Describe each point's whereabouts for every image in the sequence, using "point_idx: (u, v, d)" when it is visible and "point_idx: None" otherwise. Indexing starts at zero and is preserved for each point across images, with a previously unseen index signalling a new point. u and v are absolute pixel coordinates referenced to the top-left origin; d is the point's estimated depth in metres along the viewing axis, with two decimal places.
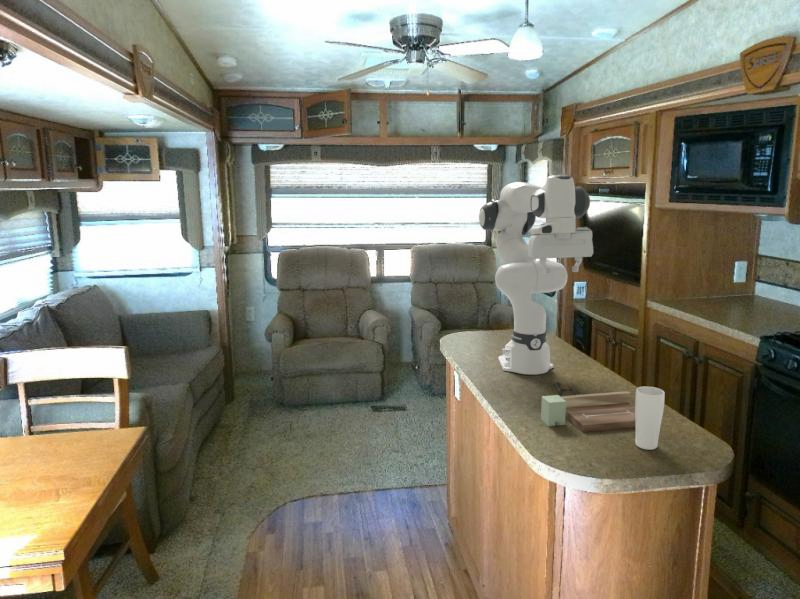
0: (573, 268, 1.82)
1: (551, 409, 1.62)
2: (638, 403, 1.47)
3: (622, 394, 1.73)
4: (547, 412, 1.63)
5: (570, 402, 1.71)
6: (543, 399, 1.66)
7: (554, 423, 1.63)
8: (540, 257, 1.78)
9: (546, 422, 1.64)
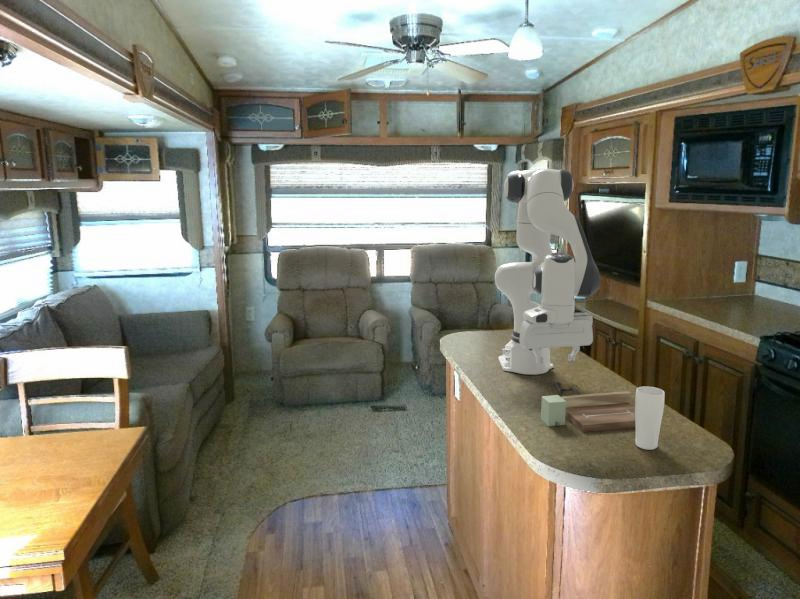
0: (569, 357, 1.62)
1: (551, 409, 1.62)
2: (638, 403, 1.47)
3: (622, 394, 1.73)
4: (547, 412, 1.63)
5: (570, 402, 1.71)
6: (543, 399, 1.65)
7: (554, 423, 1.63)
8: (533, 347, 1.58)
9: (546, 422, 1.64)
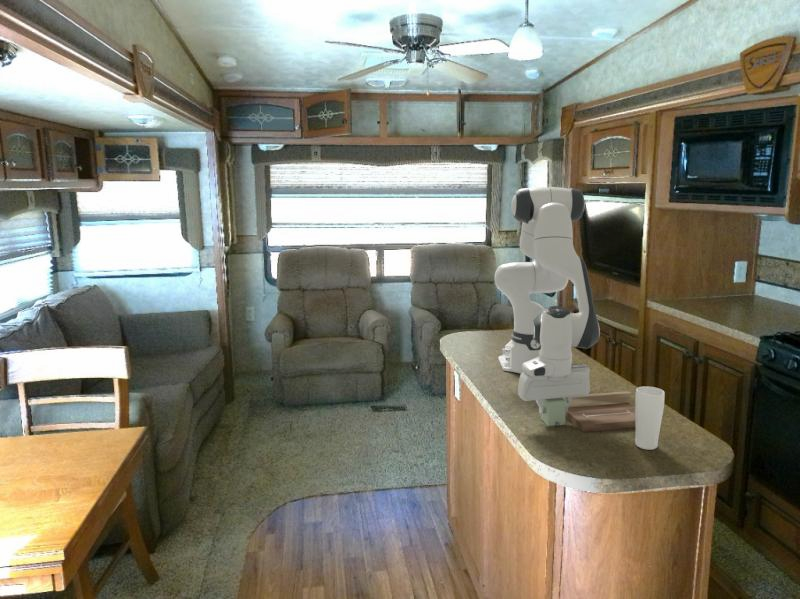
0: None
1: (551, 408, 1.62)
2: (638, 403, 1.47)
3: (622, 394, 1.73)
4: (547, 412, 1.63)
5: None
6: (543, 399, 1.65)
7: (554, 423, 1.63)
8: (531, 399, 1.62)
9: (546, 422, 1.64)
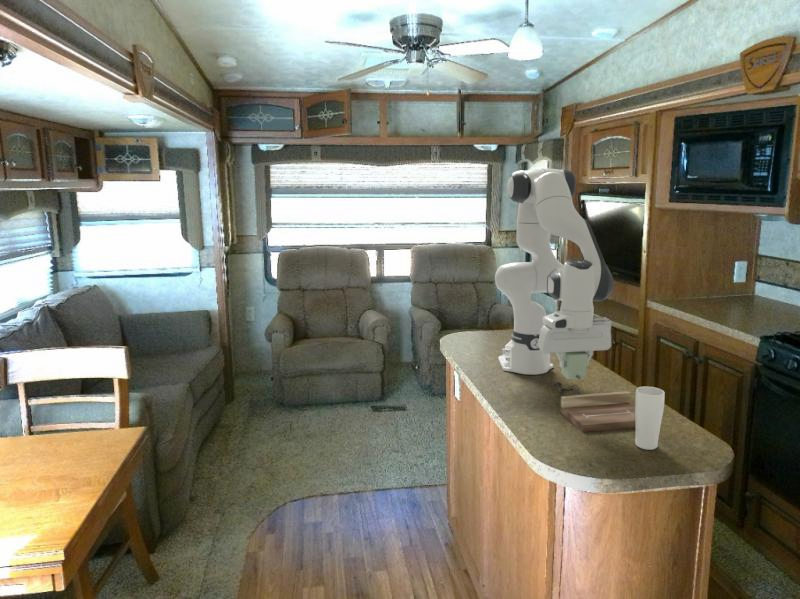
0: None
1: (571, 362, 1.62)
2: (638, 403, 1.47)
3: (622, 394, 1.73)
4: (568, 365, 1.63)
5: (570, 402, 1.71)
6: (564, 353, 1.65)
7: (575, 376, 1.63)
8: (552, 352, 1.61)
9: (567, 376, 1.64)
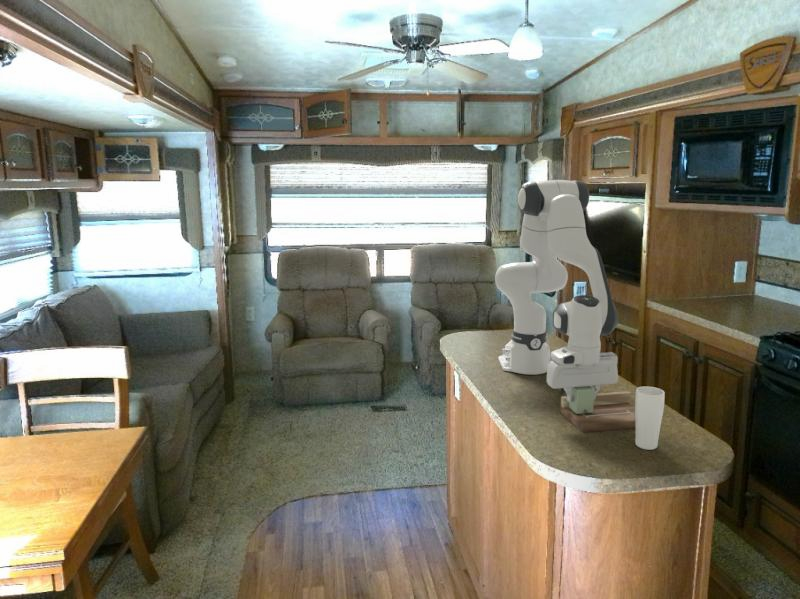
0: None
1: (579, 396, 1.64)
2: (638, 403, 1.47)
3: (622, 394, 1.73)
4: (576, 400, 1.65)
5: None
6: None
7: (582, 411, 1.65)
8: (560, 387, 1.64)
9: (574, 410, 1.66)
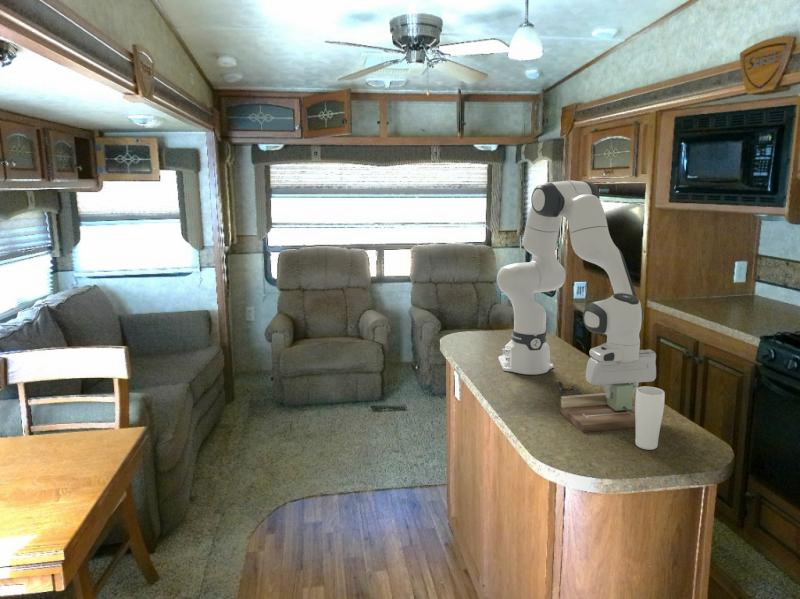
0: None
1: (618, 393, 1.66)
2: (638, 403, 1.47)
3: None
4: (615, 397, 1.67)
5: (570, 402, 1.71)
6: None
7: (621, 407, 1.67)
8: (599, 384, 1.65)
9: (613, 406, 1.68)
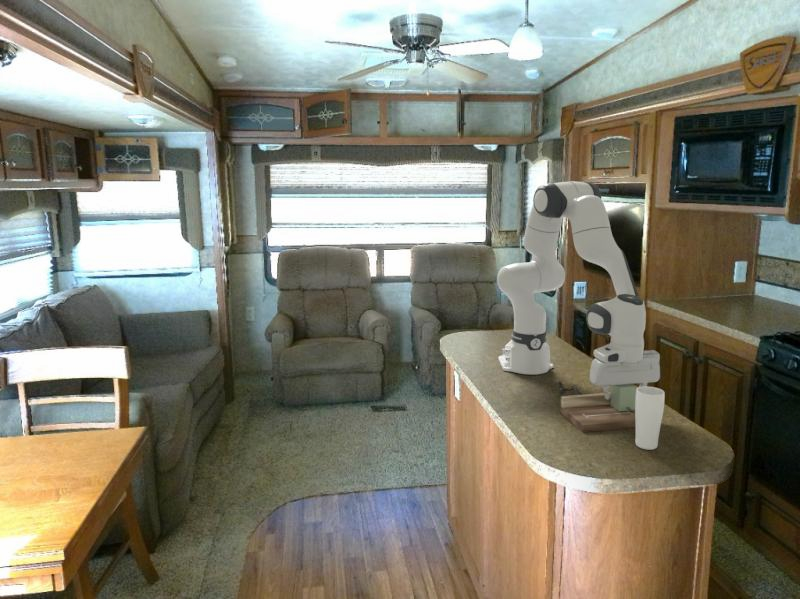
0: None
1: (622, 394, 1.67)
2: (638, 403, 1.47)
3: None
4: (618, 397, 1.67)
5: (570, 402, 1.71)
6: (613, 385, 1.70)
7: (625, 408, 1.68)
8: (603, 385, 1.66)
9: (617, 407, 1.68)
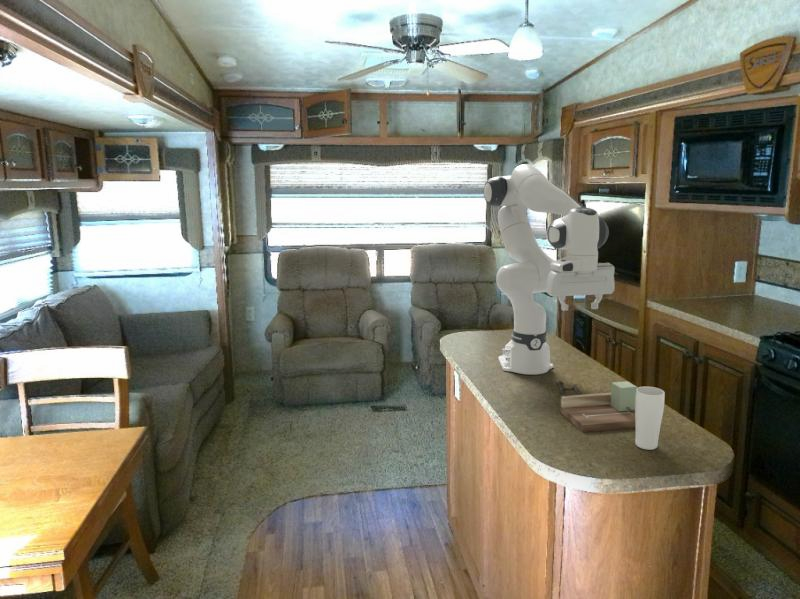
0: (592, 305, 1.75)
1: (622, 394, 1.67)
2: (638, 403, 1.47)
3: None
4: (618, 397, 1.67)
5: (570, 402, 1.71)
6: (613, 385, 1.70)
7: (625, 408, 1.68)
8: (559, 295, 1.71)
9: (617, 407, 1.68)
